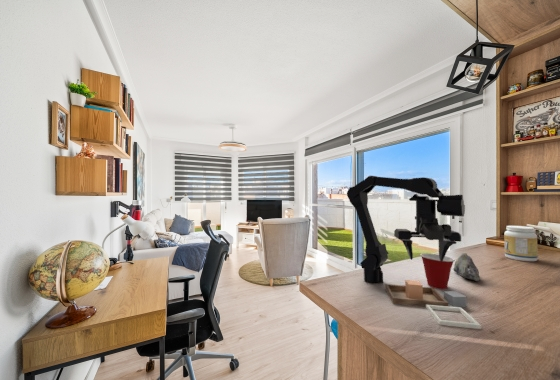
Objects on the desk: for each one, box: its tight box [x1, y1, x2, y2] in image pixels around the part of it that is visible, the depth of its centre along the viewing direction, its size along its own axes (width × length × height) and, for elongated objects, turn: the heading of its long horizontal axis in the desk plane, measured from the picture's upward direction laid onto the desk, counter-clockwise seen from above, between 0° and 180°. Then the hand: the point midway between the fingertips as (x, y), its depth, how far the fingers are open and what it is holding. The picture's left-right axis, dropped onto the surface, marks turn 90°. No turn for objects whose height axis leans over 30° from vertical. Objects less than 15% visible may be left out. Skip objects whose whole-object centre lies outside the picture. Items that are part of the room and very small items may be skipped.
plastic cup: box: [420, 253, 456, 290], centre depth 86 cm, size 11×11×12 cm
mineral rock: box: [452, 252, 481, 282], centre depth 96 cm, size 13×11×10 cm
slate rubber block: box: [443, 290, 468, 308], centre depth 72 cm, size 4×4×4 cm
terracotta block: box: [404, 279, 424, 300], centre depth 76 cm, size 4×4×5 cm
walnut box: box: [384, 283, 450, 308], centre depth 76 cm, size 15×11×2 cm
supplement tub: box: [503, 225, 539, 262], centre depth 122 cm, size 12×12×17 cm
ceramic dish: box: [425, 304, 482, 330], centre depth 64 cm, size 9×9×2 cm
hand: (426, 260), depth 78 cm, fingers open, 9 cm apart
